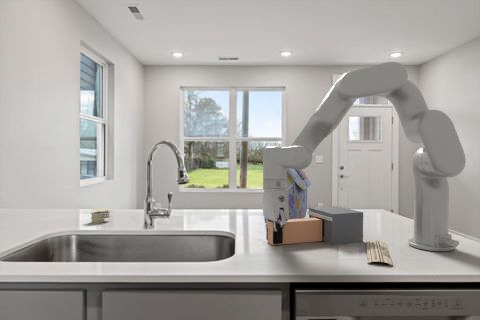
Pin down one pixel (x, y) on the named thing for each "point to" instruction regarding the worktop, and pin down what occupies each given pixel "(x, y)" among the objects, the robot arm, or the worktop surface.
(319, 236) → the orange rectangular block
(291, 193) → the lunch bag
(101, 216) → the pale yellow grooved block
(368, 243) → the newspaper
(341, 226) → the grey box
